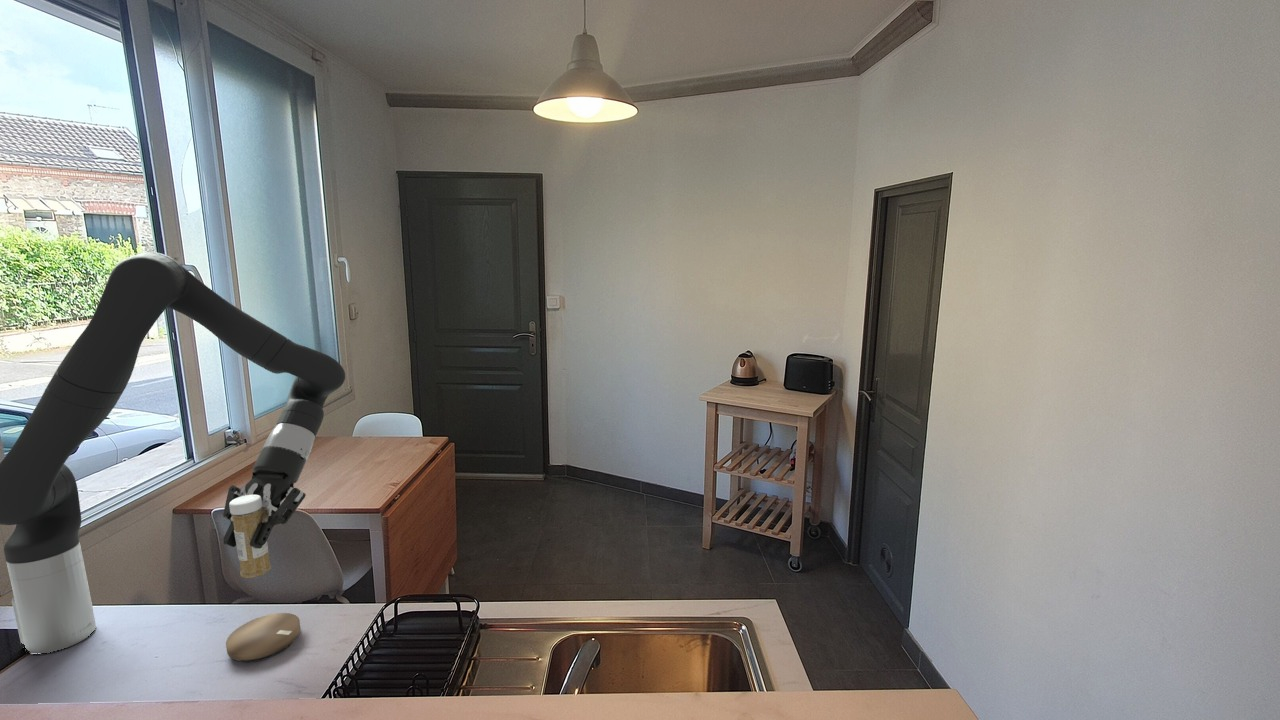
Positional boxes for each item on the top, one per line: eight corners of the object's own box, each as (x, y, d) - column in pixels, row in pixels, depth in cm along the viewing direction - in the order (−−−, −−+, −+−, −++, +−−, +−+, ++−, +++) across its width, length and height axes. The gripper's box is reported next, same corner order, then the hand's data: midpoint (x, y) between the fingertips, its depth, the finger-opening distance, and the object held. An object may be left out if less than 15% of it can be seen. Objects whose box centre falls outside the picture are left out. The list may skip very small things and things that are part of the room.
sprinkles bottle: (271, 573, 100) (261, 500, 98) (240, 582, 98) (228, 506, 96) (271, 562, 104) (260, 491, 102) (240, 570, 102) (229, 497, 99)
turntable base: (221, 660, 99) (220, 654, 99) (262, 627, 108) (261, 622, 108) (269, 663, 98) (268, 658, 98) (306, 630, 107) (305, 625, 107)
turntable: (210, 657, 98) (209, 649, 98) (260, 618, 109) (259, 610, 109) (269, 662, 97) (268, 653, 97) (314, 622, 108) (313, 614, 107)
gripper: (236, 443, 106) (187, 537, 96) (308, 445, 104) (266, 541, 94) (263, 461, 112) (219, 551, 102) (331, 463, 110) (293, 555, 100)
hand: (242, 545), depth 98 cm, fingers closed on sprinkles bottle, 4 cm apart
